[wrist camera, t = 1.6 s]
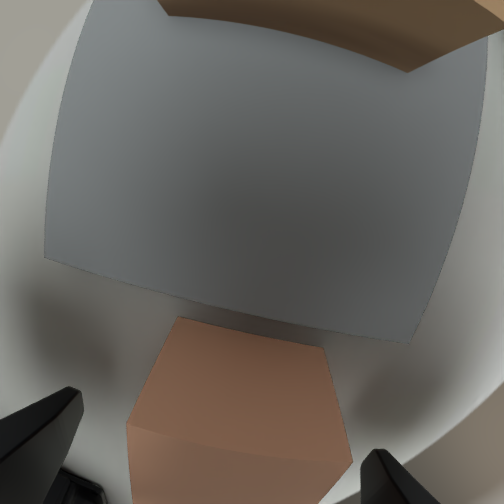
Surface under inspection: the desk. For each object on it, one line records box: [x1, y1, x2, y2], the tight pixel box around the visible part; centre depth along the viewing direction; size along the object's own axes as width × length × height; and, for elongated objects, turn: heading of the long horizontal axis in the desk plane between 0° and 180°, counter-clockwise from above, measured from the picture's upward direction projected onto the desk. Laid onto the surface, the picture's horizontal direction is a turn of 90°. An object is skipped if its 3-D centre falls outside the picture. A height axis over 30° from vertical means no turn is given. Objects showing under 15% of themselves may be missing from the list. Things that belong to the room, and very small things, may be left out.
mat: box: [44, 0, 488, 344], centre depth 6 cm, size 16×11×1 cm
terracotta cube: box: [126, 316, 353, 504], centre depth 8 cm, size 5×5×5 cm
